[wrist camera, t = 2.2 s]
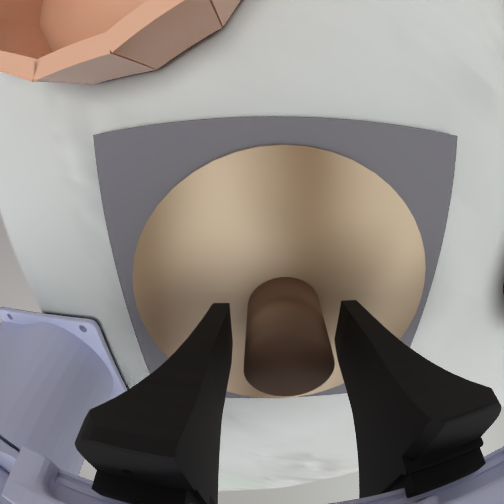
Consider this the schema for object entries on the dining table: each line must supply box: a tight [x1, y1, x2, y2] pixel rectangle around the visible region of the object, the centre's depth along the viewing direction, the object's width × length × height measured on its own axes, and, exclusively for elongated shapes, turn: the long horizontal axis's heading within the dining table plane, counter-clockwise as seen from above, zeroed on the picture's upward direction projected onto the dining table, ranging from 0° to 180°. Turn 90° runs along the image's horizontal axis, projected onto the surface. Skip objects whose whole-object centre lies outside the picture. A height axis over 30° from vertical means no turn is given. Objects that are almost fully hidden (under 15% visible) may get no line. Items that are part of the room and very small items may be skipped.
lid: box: [132, 144, 426, 398], centre depth 11 cm, size 13×13×4 cm
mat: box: [93, 117, 457, 398], centre depth 13 cm, size 15×15×1 cm
